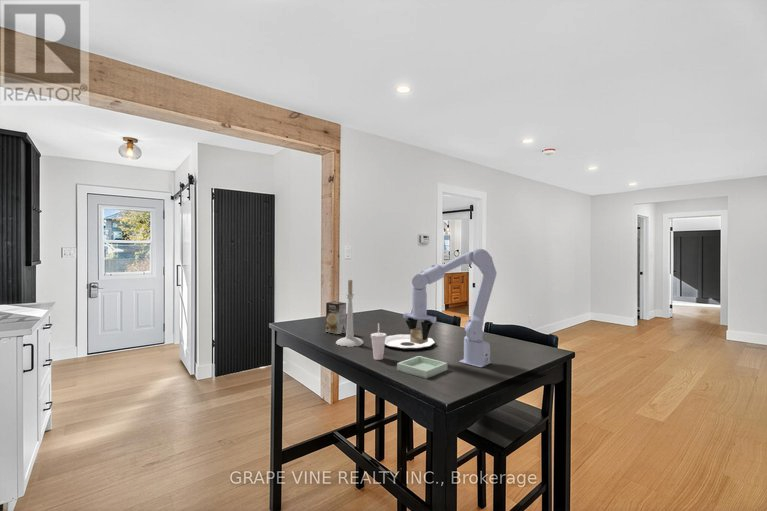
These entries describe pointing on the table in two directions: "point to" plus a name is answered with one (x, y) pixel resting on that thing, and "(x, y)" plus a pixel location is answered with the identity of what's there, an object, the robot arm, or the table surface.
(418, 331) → the maple cube
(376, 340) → the smoothie
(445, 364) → the green tray
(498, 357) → the table surface
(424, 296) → the robot arm
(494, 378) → the table surface
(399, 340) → the plate
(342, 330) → the coffee box
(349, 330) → the candlestick
